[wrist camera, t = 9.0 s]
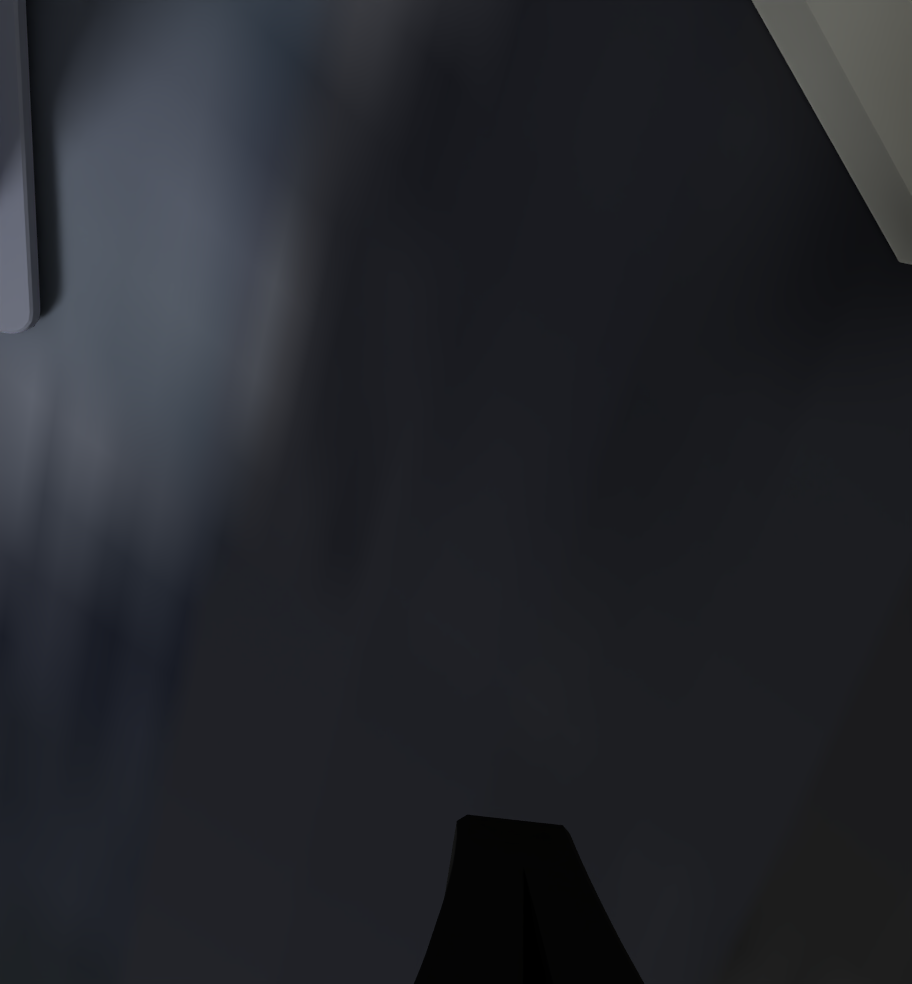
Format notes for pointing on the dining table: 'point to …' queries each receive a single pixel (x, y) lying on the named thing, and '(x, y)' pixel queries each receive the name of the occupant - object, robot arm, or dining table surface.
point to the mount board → (858, 93)
